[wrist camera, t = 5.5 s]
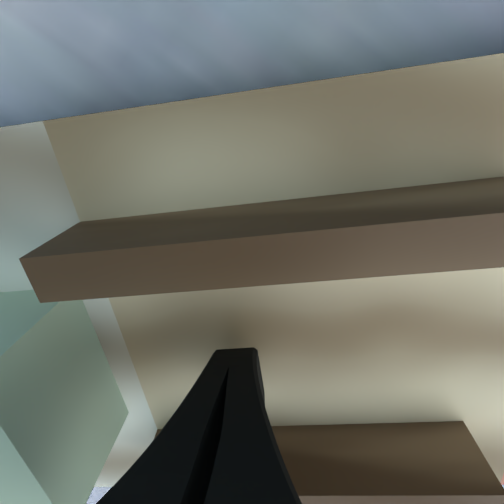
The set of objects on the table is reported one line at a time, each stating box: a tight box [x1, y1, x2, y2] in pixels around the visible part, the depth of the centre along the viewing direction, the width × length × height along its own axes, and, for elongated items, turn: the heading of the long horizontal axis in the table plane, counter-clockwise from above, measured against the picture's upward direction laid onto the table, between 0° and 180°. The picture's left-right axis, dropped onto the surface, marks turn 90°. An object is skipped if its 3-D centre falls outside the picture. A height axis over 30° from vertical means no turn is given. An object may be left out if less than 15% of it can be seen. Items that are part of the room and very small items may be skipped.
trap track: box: [0, 53, 504, 504], centre depth 11 cm, size 16×31×4 cm, turn 97°
